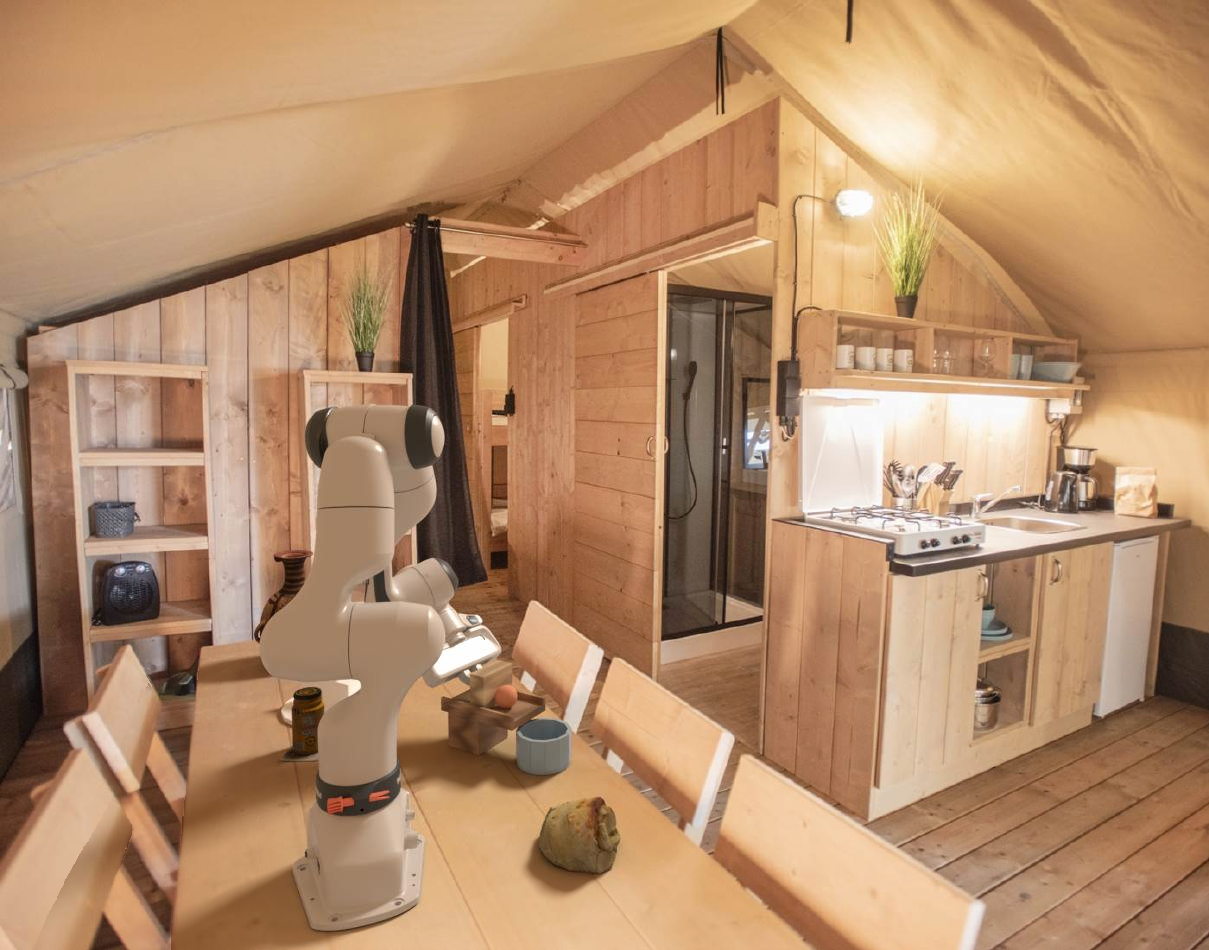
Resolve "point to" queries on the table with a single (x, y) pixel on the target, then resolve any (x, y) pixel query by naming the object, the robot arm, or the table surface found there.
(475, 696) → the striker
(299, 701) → the condiment
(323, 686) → the dish
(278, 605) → the vase
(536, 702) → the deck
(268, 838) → the table surface
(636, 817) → the table surface
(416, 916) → the table surface
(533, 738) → the cup
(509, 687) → the ball
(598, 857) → the pastry
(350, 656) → the robot arm
